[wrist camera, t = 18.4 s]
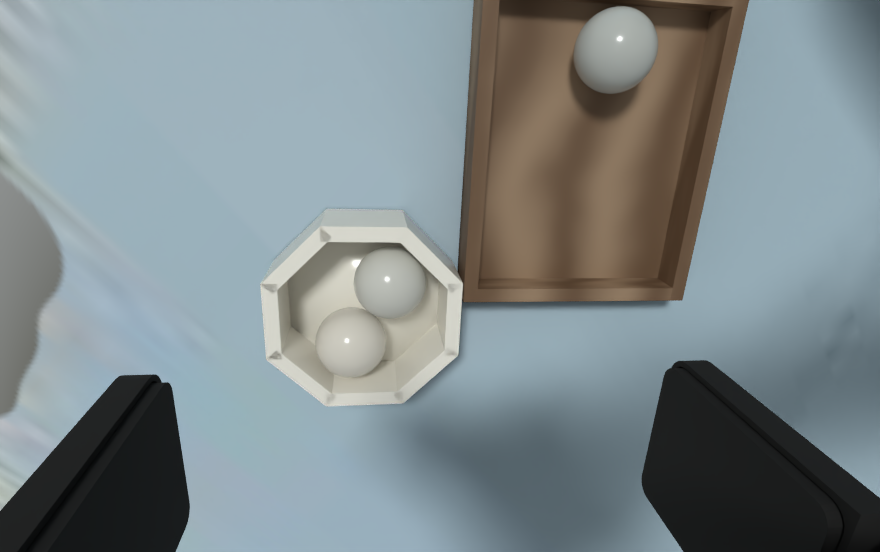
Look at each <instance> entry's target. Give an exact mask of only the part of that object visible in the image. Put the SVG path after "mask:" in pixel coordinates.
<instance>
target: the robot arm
mask: <svg viewBox="0 0 880 552" xmlns="http://www.w3.org/2000/svg"><path fill="white" fill-rule="evenodd" d="M642 487H643V490H644V493H645V495H646V497H647V498H648V500H649V501H650V503H651V504H652V506H653V507H654V509H655V510H656V512H657V513H658V515H659V516H660V518H661V519H662V521H663V522H664V524H665V525H666V526H667V528H668V529H669V531H670V532H671V534H672V535H673V537H674V538H675V540H676V541H677V543H678V544H679V546H680V547H681V549H682V550H683V552H880V498H879V497H878V496H876V495H875V494H874V493H873V492H871V491H870V490H869V489H868V488H866V487H865V486H864V485H863V484H862V483H860V482H859V481H858V480H857V479H855V478H854V477H853V476H852V475H850V474H849V473H848V472H847V471H845V470H844V469H843V468H842V467H840V466H839V465H838V464H837V463H835V462H834V461H833V460H832V459H830V458H829V457H828V456H827V455H825V454H824V453H823V452H822V451H820V450H819V449H818V448H817V447H815V446H814V445H813V444H812V443H810V442H809V441H808V440H807V439H805V438H804V437H803V436H802V435H800V434H799V433H798V432H797V431H795V430H794V429H793V428H792V427H790V426H789V425H788V424H787V423H785V422H784V421H783V420H782V419H780V418H779V417H778V416H777V415H775V414H774V413H773V412H772V411H770V410H769V409H768V408H767V407H766V406H764V405H763V404H762V403H761V402H759V401H758V400H757V399H756V398H754V397H753V396H752V395H751V394H749V393H748V392H747V391H746V390H744V389H743V388H742V387H741V386H739V385H738V384H737V383H736V382H734V381H733V380H732V379H731V378H729V377H728V376H727V375H726V374H724V373H723V372H722V371H721V370H719V369H718V368H717V367H716V366H714V365H713V364H712V363H710V362H709V361H704V360H700V361H678V362H676V363H674V365H673V366H672V368H670V369H668V370H667V371H666V372H665V375H664V378H663V383H662V388H661V392H660V397H659V401H658V406H657V410H656V415H655V419H654V424H653V428H652V433H651V437H650V442H649V446H648V451H647V455H646V460H645V464H644V469H643V473H642ZM189 509H190V504H189V496H188V490H187V483H186V477H185V470H184V464H183V457H182V451H181V444H180V437H179V431H178V424H177V418H176V411H175V405H174V398H173V392H172V387H171V385H170V384H169V383H161V380H160V378H159V376H157V375H123V376H119V377H118V378H116V379H115V380H114V382H113V383H112V384H111V385H110V386H109V387H108V388H107V390H106V391H105V392H104V393H103V394H102V395H101V397H100V398H99V399H98V400H97V401H96V402H95V403H94V405H93V406H92V407H91V408H90V409H89V410H88V411H87V413H86V414H85V415H84V416H83V417H82V418H81V419H80V421H79V422H78V423H77V424H76V425H75V426H74V427H73V429H72V430H71V431H70V432H69V433H68V434H67V435H66V437H65V438H64V439H63V440H62V441H61V442H60V443H59V445H58V446H57V447H56V448H55V449H54V450H53V451H52V453H51V454H50V455H49V456H48V457H47V458H46V459H45V461H44V462H43V463H42V464H41V465H40V466H39V467H38V469H37V470H36V471H35V472H34V473H33V474H32V475H31V477H30V478H29V479H28V480H27V481H26V482H25V483H24V485H23V486H22V487H21V488H20V489H19V490H18V491H17V493H16V494H15V495H14V496H13V497H12V498H11V499H10V501H9V502H8V503H7V504H6V505H5V506H4V507H3V509H2V510H1V511H0V552H176V549H177V547H178V545H179V542H180V540H181V537H182V535H183V533H184V530H185V528H186V525H187V522H188V518H189Z"/></svg>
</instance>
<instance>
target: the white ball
mask: <svg viewBox="0 0 880 552" xmlns="http://www.w3.org/2000/svg"><path fill="white" fill-rule="evenodd" d="M425 290H426V276H425V272H424V269H423V267H422V265H421V263H420V262H419V260H417V259H416V258H415V257H414V256H413V255H412V254H411V253H410V252H408V251H407V250H404V249H402V248H398V247H390V246H388V247H381V248H378V249H375V250H373V251H371V252H370V253H368V254H367V255H366V256H365V257H364V258H363V259H362V260H361V261H360V263H359V265H358V266H357V268H356V271H355V275H354V291H355V294H356V297H357V299H358V301H359V302H360V304H361V305H362V306H363V307H364V308H365V309H366V310H367V311H368V312H370V313H371V314H373V315H375V316H377V317H381V318H386V319H394V318H399V317H402V316H405V315H407V314H409V313H410V312H412V311H413V310H414V309H415V308H416V307H417V306H418V305H419V303H420V302H421V300H422V298H423V296H424V294H425Z"/></svg>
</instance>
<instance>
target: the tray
mask: <svg viewBox="0 0 880 552" xmlns="http://www.w3.org/2000/svg"><path fill="white" fill-rule="evenodd" d="M748 2H749V0H474V6H473V23H472V40H471V56H470V73H469V90H468V106H467V123H466V139H465V156H464V173H463V189H462V206H461V222H460V239H459V256H458V274H459V276H460V278H461V280H462V283H463V291H462V301H463V302H546V301H664V300H682V299H683V295H684V290H685V286H686V281H687V277H688V272H689V268H690V263H691V259H692V254H693V250H694V245H695V241H696V236H697V232H698V227H699V223H700V218H701V214H702V209H703V205H704V200H705V196H706V191H707V187H708V182H709V178H710V173H711V169H712V164H713V160H714V155H715V151H716V146H717V142H718V137H719V133H720V128H721V124H722V119H723V115H724V110H725V106H726V101H727V97H728V92H729V88H730V83H731V79H732V74H733V70H734V65H735V61H736V56H737V52H738V47H739V43H740V38H741V34H742V29H743V25H744V20H745V16H746V11H747V7H748ZM616 6H626V7H632V8H635V9H637V10H639V11H641V12H642V13H644V14H645V15H646V16H647V17H648V18H649V19H650V20H651V22H652V23H653V25H654V27H655V29H656V32H657V36H658V53H657V57H656V60H655V63H654V65H653V67H652V69H651V70H650V72H649V73H648V75H647V76H646V77H645V78H644V79H643V80H642V81H641V82H640V83H639V84H637V85H636V86H635V87H633V88H631V89H629V90H627V91H624V92H621V93H615V94H605V93H600V92H597V91H595V90H593V89H591V88H589V87H588V86H587V85H585V84H584V83H583V81H582V80H581V79H580V77H579V76H578V74H577V72H576V69H575V66H574V59H573V53H574V46H575V42H576V39H577V37H578V34H579V32H580V31H581V29H582V28H583V26H584V25H585V24H586V23H587V22H588V20H589V19H591V18H592V17H593V16H594V15H596V14H597V13H599V12H601V11H603V10H605V9H607V8H611V7H616Z"/></svg>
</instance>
